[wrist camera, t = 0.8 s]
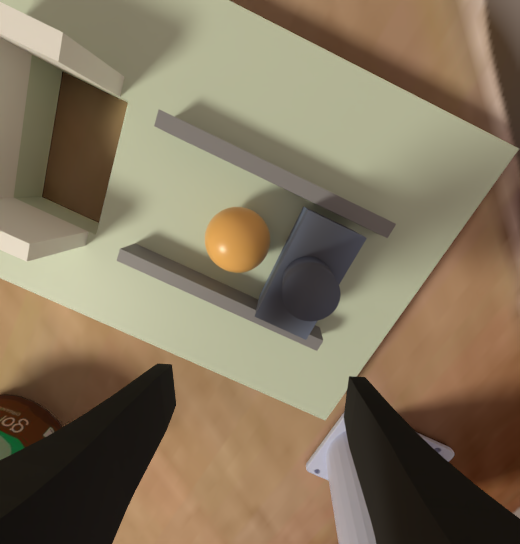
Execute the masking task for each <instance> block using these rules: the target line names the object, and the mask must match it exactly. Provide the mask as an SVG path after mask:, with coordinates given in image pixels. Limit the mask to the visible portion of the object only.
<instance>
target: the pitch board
mask: <svg viewBox="0 0 520 544" xmlns="http://www.w3.org/2000/svg"><path fill="white" fill-rule="evenodd" d="M0 2H2V3H4V4H6V5H8V6H10V7H12V8H14V9H16V10H18V11H20V12H22V13H24V14H26V15H28V16H30V17H32V18H34V19H36V20H38V21H40V22H42V23H44V24H47V25H49V26H51V27H53V28H55V29H57V30H59V31H61V32H63V33H64V34H66V35H67V36H68V37H70V38H71V39H73V40H74V41H75V42H77V43H78V44H80V45H81V46H82V47H84V48H85V49H87V50H88V51H89V52H91V53H92V54H93V55H95V56H96V57H98V58H99V59H100V60H102V61H103V62H105V63H106V64H107V65H109V66H110V67H112V68H113V69H114V70H116V71H117V72H118V73H120V74H121V75H123V76H124V81H123V86H122V90H121V94H120V97H119V96H117V95H115V94H112V93H110V92H108V91H106V90H104V89H102V88H100V87H98V86H96V85H94V84H92V83H90V82H88V81H86V80H83V79H81V78H79V77H77V76H75V75H73V74H71V73H69V72H67V71H65V70H63V69H61V68H59V67H56V66H54V65H52V64H50V63H48V62H46V61H44V60H42V59H40V58H38V57H36V56H34V55H32V58H31V66H30V73H29V81H28V89H27V97H26V105H25V112H24V120H23V128H22V136H21V143H20V151H19V159H18V167H17V175H16V182H15V190H14V198H16V199H18V200H20V201H22V202H24V203H27V204H29V205H31V206H33V207H35V208H38V209H40V210H42V211H44V212H46V213H49V214H51V215H53V216H55V217H57V218H60V219H62V220H64V221H66V222H69V223H71V224H73V225H75V226H77V227H80V228H82V229H84V230H86V231H88V237H87V241H86V245H85V246H82V247H79V248H75V249H71V250H68V251H64V252H60V253H57V254H53V255H49V256H46V257H42V258H38V259H35V260H31V261H27V262H26V261H24V260H22V259H20V258H17V257H15V256H13V255H11V254H8V253H6V252H4V251H2V250H0V278H1V279H3V280H6V281H8V282H10V283H13V284H15V285H17V286H19V287H22V288H24V289H26V290H29V291H31V292H33V293H35V294H38V295H40V296H42V297H45V298H47V299H49V300H51V301H54V302H56V303H58V304H61V305H63V306H65V307H67V308H70V309H72V310H74V311H77V312H79V313H81V314H83V315H86V316H88V317H90V318H93V319H95V320H97V321H99V322H102V323H104V324H106V325H109V326H111V327H113V328H115V329H118V330H120V331H122V332H125V333H127V334H129V335H131V336H134V337H136V338H138V339H141V340H143V341H145V342H147V343H150V344H152V345H154V346H156V347H159V348H161V349H163V350H166V351H168V352H170V353H172V354H175V355H177V356H179V357H182V358H184V359H186V360H188V361H191V362H193V363H195V364H198V365H200V366H202V367H204V368H207V369H209V370H211V371H214V372H216V373H218V374H220V375H223V376H225V377H227V378H230V379H232V380H234V381H236V382H239V383H241V384H243V385H246V386H248V387H250V388H252V389H255V390H257V391H259V392H262V393H264V394H266V395H268V396H271V397H273V398H275V399H278V400H280V401H282V402H284V403H287V404H289V405H291V406H294V407H296V408H298V409H300V410H303V411H305V412H307V413H310V414H312V415H314V416H316V417H319V418H321V419H323V420H326V419H327V417H328V416H329V415H330V413H331V412H332V410H333V409H334V408H335V406H336V405H337V403H338V402H339V401H340V399H341V398H342V396H343V395H344V394H345V392H346V391H347V388H348V380H349V376H353V377H357V375H358V374H359V373H360V371H361V370H362V368H363V367H364V366H365V364H366V363H367V361H368V360H369V359H370V357H371V356H372V354H373V353H374V352H375V350H376V349H377V347H378V346H379V345H380V343H381V342H382V340H383V339H384V338H385V336H386V335H387V333H388V332H389V331H390V329H391V328H392V326H393V325H394V324H395V322H396V321H397V319H398V318H399V317H400V315H401V314H402V312H403V311H404V310H405V308H406V307H407V305H408V304H409V303H410V301H411V300H412V298H413V297H414V296H415V294H416V293H417V291H418V290H419V289H420V287H421V286H422V284H423V283H424V282H425V280H426V279H427V277H428V276H429V274H430V273H431V272H432V270H433V269H434V267H435V266H436V265H437V263H438V262H439V260H440V259H441V258H442V256H443V255H444V253H445V252H446V251H447V249H448V248H449V246H450V245H451V244H452V242H453V241H454V239H455V238H456V237H457V235H458V234H459V232H460V231H461V230H462V228H463V227H464V225H465V224H466V223H467V221H468V220H469V218H470V217H471V216H472V214H473V213H474V211H475V210H476V209H477V207H478V206H479V204H480V203H481V202H482V200H483V199H484V197H485V196H486V195H487V193H488V192H489V190H490V189H491V188H492V186H493V185H494V183H495V182H496V181H497V179H498V178H499V176H500V175H501V174H502V172H503V171H504V169H505V168H506V167H507V165H508V164H509V162H510V161H511V160H512V158H513V157H514V155H515V154H516V153H517V151H518V150H519V148H517V147H515V146H513V145H511V144H509V143H507V142H505V141H503V140H501V139H499V138H497V137H495V136H493V135H492V134H490V133H488V132H486V131H484V130H482V129H480V128H478V127H476V126H474V125H472V124H470V123H468V122H466V121H464V120H462V119H460V118H458V117H456V116H454V115H452V114H450V113H448V112H447V111H445V110H443V109H441V108H439V107H437V106H435V105H433V104H431V103H429V102H427V101H425V100H423V99H421V98H419V97H417V96H415V95H413V94H411V93H409V92H407V91H405V90H404V89H402V88H400V87H398V86H396V85H394V84H392V83H390V82H388V81H386V80H384V79H382V78H380V77H378V76H376V75H374V74H372V73H370V72H368V71H366V70H364V69H362V68H360V67H359V66H357V65H355V64H353V63H351V62H349V61H347V60H345V59H343V58H341V57H339V56H337V55H335V54H333V53H331V52H329V51H327V50H325V49H323V48H321V47H319V46H317V45H316V44H314V43H312V42H310V41H308V40H306V39H304V38H302V37H300V36H298V35H296V34H294V33H292V32H290V31H288V30H286V29H284V28H282V27H280V26H278V25H276V24H274V23H272V22H271V21H269V20H267V19H265V18H263V17H261V16H259V15H257V14H255V13H253V12H251V11H249V10H247V9H245V8H243V7H241V6H239V5H237V4H235V3H233V2H231V1H229V0H0ZM62 72H65V73H67V74H69V75H71V76H73V77H75V78H77V79H80V80H82V81H84V82H86V83H88V84H90V85H92V86H94V87H96V88H98V89H100V90H102V91H104V92H107V93H109V94H111V95H113V96H115V97H117V98H119V99H121V100H123V101H125V102H127V103H128V105H127V109H126V114H125V118H124V122H123V126H122V130H121V134H120V138H119V142H118V147H117V151H116V155H115V159H114V163H113V167H112V171H111V175H110V180H109V184H108V188H107V192H106V196H105V200H104V204H103V208H102V213H101V217H100V221H99V223H98V222H96V221H94V220H91V219H89V218H87V217H85V216H83V215H81V214H78V213H76V212H74V211H72V210H70V209H67V208H65V207H63V206H61V205H59V204H56V203H54V202H52V201H50V200H48V199H45V198H43V197H42V194H43V188H44V182H45V176H46V170H47V163H48V157H49V151H50V145H51V139H52V133H53V127H54V121H55V115H56V109H57V102H58V96H59V90H60V84H61V78H62ZM303 206H304V207H306V208H308V209H310V210H312V211H314V212H316V213H318V214H320V215H322V216H325V217H327V218H329V219H331V220H333V221H335V222H337V223H339V224H341V225H343V226H345V227H348V228H350V229H352V230H353V231H355V232H357V233H359V234H361V235H362V236H364V237H366V238H367V239H366V241H365V242H364V244H363V246H362V247H361V249H360V251H359V252H358V254H357V256H356V257H355V259H354V261H353V262H352V264H351V266H350V267H349V269H348V271H347V272H346V274H345V276H344V277H343V279H342V281H341V282H340V284H339V287H340V293H341V296H340V301H339V304H338V306H337V308H336V309H335V311H334V312H333V313H332V314H330V315H329V316H328V317H326V318H324V319H322V320H318V321H317V323H316V324H315V326H314V328H313V329H312V331H311V333H310V334H309V336H308V338H307V339H306V340H305V339H303V338H301V337H298V336H296V335H294V334H292V333H290V332H287V331H285V330H283V329H281V328H278V327H276V326H274V325H272V324H270V323H267V322H265V321H263V320H261V319H259V318H256V317H255V313H256V309H257V304H258V300H259V296H260V293H261V291H262V289H263V287H264V285H265V283H266V281H267V279H268V277H269V275H270V273H271V271H272V269H273V267H274V265H275V263H276V261H277V259H278V257H279V255H280V253H281V251H282V249H283V247H284V245H285V243H286V241H287V239H288V237H289V235H290V233H291V231H292V229H293V227H294V225H295V223H296V221H297V219H298V217H299V215H300V212H301V210H302V208H303ZM230 207H244V208H248V209H250V210H253V211H254V212H256V213H257V214H259V215H260V216H261V217H262V218H263V220H264V221H265V223H266V224H267V226H268V229H269V232H270V248H269V251H268V254H267V256H266V257H265V259H264V260H263V262H262V263H261V264H260V265H258V266H257V267H256V268H254V269H252V270H250V271H247V272H242V273H235V272H229V271H226V270H224V269H222V268H220V267H219V266H217V265H216V264H215V263H214V262H213V261H212V260H211V258H210V257H209V255H208V253H207V250H206V246H205V232H206V229H207V226H208V224H209V222H210V221H211V219H212V218H213V217H214V216H215V215H216V214H217V213H219V212H220V211H222V210H224V209H227V208H230Z"/></svg>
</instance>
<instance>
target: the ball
mask: <svg viewBox="0 0 520 544" xmlns="http://www.w3.org/2000/svg"><path fill="white" fill-rule="evenodd" d="M205 246H206V250H207V253H208V255H209V257H210V258H211V260H212V261H213V262H214V263H215V264H216V265H217V266H219V267H220V268H222V269H224V270H226V271H229V272H235V273H242V272H247V271H250V270H252V269H254V268H256V267H257V266H258V265H260V264H261V263H262V262H263V260H264V259H265V257H266V256H267V254H268V251H269V248H270V232H269V229H268V226H267V224H266V223H265V221H264V220H263V218H262V217H261V216H260V215H259V214H257V213H256V212H254V211H253V210H250V209H248V208H244V207H230V208H227V209H224V210H222V211H220V212H219V213H217V214H216V215H215V216H214V217H213V218H212V219H211V221H210V222H209V224H208V226H207V229H206V232H205Z"/></svg>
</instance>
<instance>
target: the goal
mask: <svg viewBox="0 0 520 544" xmlns="http://www.w3.org/2000/svg"><path fill="white" fill-rule="evenodd" d="M32 55H34V56H36V57H38V58H40V59H42V60H44V61H46V62H48V63H50V64H52V65H54V66H56V67H59V68H61V69H63V70H65V71H67V72H69V73H71V74H73V75H75V76H77V77H79V78H81V79H83V80H86V81H88V82H90V83H92V84H94V85H96V86H98V87H100V88H102V89H104V90H106V91H108V92H110V93H112V94H115V95H117V96H119V97H120V94H121V90H122V86H123V81H124V76H123V75H121V74H120V73H118V72H117V71H116V70H114V69H113V68H112V67H110V66H109V65H107V64H106V63H105V62H103V61H102V60H100V59H99V58H98V57H96V56H95V55H93V54H92V53H91V52H89V51H88V50H87V49H85V48H84V47H82V46H81V45H80V44H78V43H77V42H75V41H74V40H73V39H71V38H70V37H68V36H67V35H66V34H64V33H63V32H61V31H59V30H57V29H55V28H53V27H51V26H49V25H47V24H44V23H42V22H40V21H38V20H36V19H34V18H32V17H30V16H28V15H26V14H24V13H22V12H20V11H18V10H16V9H14V8H12V7H10V6H8V5H6V4H4V3H2V2H0V250H2V251H4V252H6V253H8V254H11V255H13V256H15V257H17V258H20V259H22V260H24V261H26V262H27V261H31V260H35V259H38V258H42V257H46V256H49V255H53V254H57V253H60V252H64V251H68V250H71V249H75V248H79V247H82V246H85V245H86V241H87V237H88V231H86V230H84V229H82V228H80V227H77V226H75V225H73V224H71V223H69V222H66V221H64V220H62V219H60V218H57V217H55V216H53V215H51V214H49V213H46V212H44V211H42V210H40V209H38V208H35V207H33V206H31V205H29V204H27V203H24V202H22V201H20V200H18V199H16V198H14V190H15V182H16V175H17V167H18V159H19V151H20V143H21V136H22V128H23V120H24V112H25V105H26V97H27V89H28V81H29V73H30V66H31V58H32Z"/></svg>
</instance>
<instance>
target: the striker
mask: <svg viewBox="0 0 520 544" xmlns="http://www.w3.org/2000/svg"><path fill="white" fill-rule="evenodd" d="M366 239H367V238H366V237H364V236H362V235H361V234H359V233H357V232H355V231H353V230H352V229H350V228H348V227H345V226H343V225H341V224H339V223H337V222H335V221H333V220H331V219H329V218H327V217H325V216H322V215H320V214H318V213H316V212H314V211H312V210H310V209H308V208H306V207H304V206H303V208H302V210H301V212H300V215H299V217H298V219H297V221H296V223H295V225H294V227H293V229H292V231H291V233H290V235H289V237H288V239H287V241H286V243H285V245H284V247H283V249H282V251H281V253H280V255H279V257H278V259H277V261H276V263H275V265H274V267H273V269H272V271H271V273H270V275H269V277H268V279H267V281H266V283H265V285H264V287H263V289H262V291H261V293H260V296H259V300H258V304H257V309H256V313H255V317H256V318H259V319H261V320H263V321H265V322H267V323H270V324H272V325H274V326H276V327H278V328H281V329H283V330H285V331H287V332H290V333H292V334H294V335H296V336H298V337H301V338H303V339H305V340H306V339H307V338H308V336H309V334H310V333H311V331H312V329H313V328H314V326H315V324H316V323H317V321H318V320H322V319H324V318H326V317H328V316H329V315H330V314H332V313H333V312H334V311H335V309H336V308H337V306H338V304H339V301H340V296H341V293H340V287H339V284H340V282H341V281H342V279H343V277H344V276H345V274H346V272H347V271H348V269H349V267H350V266H351V264H352V262H353V261H354V259H355V257H356V256H357V254H358V252H359V251H360V249H361V247H362V246H363V244H364V242H365V241H366Z"/></svg>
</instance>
